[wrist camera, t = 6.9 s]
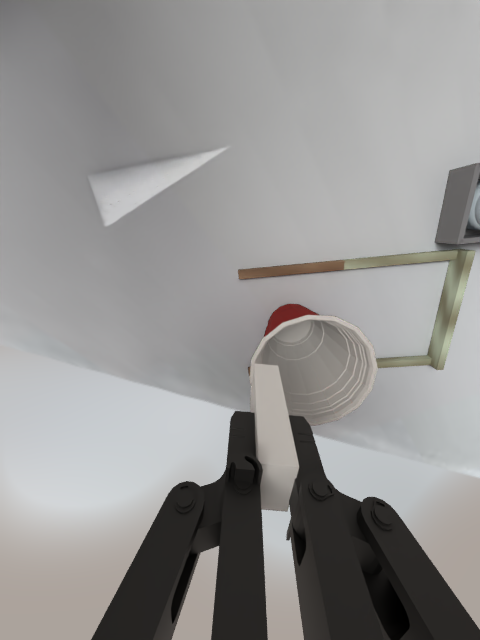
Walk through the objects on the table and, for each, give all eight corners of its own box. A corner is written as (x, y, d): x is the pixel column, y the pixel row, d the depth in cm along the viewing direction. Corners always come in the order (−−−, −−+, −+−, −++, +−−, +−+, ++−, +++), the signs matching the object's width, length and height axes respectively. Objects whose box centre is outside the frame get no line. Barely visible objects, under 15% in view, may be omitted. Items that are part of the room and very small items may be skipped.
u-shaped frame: (238, 269, 28) (237, 272, 26) (459, 248, 27) (475, 250, 25) (248, 372, 34) (248, 381, 32) (432, 361, 32) (443, 369, 30)
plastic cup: (332, 276, 28) (385, 309, 17) (332, 353, 32) (375, 420, 21) (243, 288, 29) (240, 327, 18) (254, 361, 33) (257, 430, 22)
